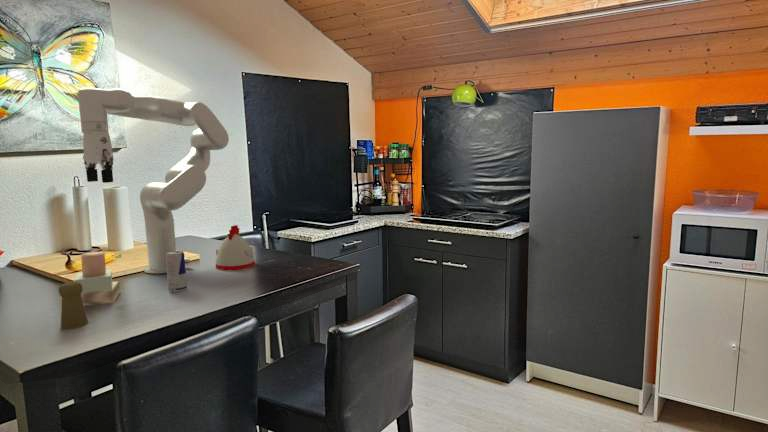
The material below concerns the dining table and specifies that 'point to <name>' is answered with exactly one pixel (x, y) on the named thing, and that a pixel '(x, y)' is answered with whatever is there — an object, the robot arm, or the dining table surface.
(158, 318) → the dining table surface
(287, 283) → the dining table surface
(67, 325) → the olive pepper mill
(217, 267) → the white beanie hat
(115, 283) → the tower base
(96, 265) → the pink cube
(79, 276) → the tower top
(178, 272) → the energy drink
